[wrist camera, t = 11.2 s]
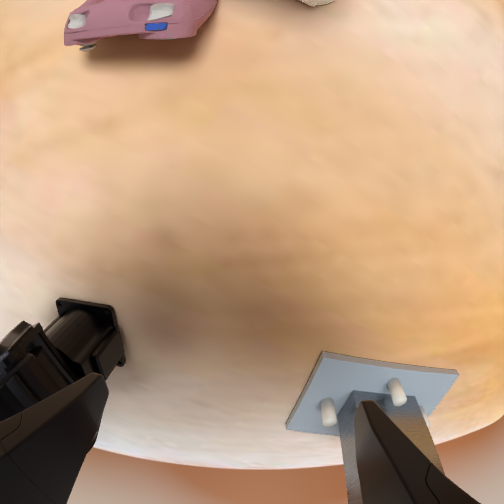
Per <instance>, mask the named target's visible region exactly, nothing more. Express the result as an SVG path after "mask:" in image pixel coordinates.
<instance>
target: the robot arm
mask: <svg viewBox="0 0 504 504" xmlns="http://www.w3.org/2000/svg"><path fill="white" fill-rule="evenodd" d="M56 306H57V309H58V313H59V316H58V317H57V318H56V319H55V320H54V321H53V322H52V323H51V324H50V325H49V326H48V327H47V328H46V329H45V330H44V331H43V328H42V326H41V325H40V323H39V322H38V323H37V324H35V325H33V326H32V325H31V324H28V323H27V322H25V321H22V322H21V323H19V324H18V325H17V326H16V327H15V328H14V329H12V330H11V331H10V332H9V333H8V334H7V335H6V336H5V337H4V338H3V339H2V341H1V342H0V504H67V501H68V498H69V496H70V493H71V491H72V488H73V486H74V483H75V481H76V478H77V476H78V473H79V471H80V468H81V466H82V463H83V461H84V459H85V456H86V454H87V453H88V452H89V451H90V449H91V448H92V447H93V445H94V444H95V442H96V439H97V435H98V431H99V427H100V423H101V419H102V415H103V411H104V407H105V404H106V401H107V398H108V395H109V391H108V387H107V385H106V382H105V380H106V379H107V378H108V376H109V375H110V373H111V372H112V370H113V369H114V367H115V366H120V367H122V366H124V364H125V363H126V361H125V357H124V350H123V346H122V342H121V338H120V334H119V331H118V328H117V323H116V319H115V314H114V310H113V308H112V307H110V306H108V305H102V304H95V303H89V302H82V301H76V300H70V299H65V298H59V299H58V300H56ZM107 311H109V313H108V312H107ZM120 361H121V362H120ZM354 430H355V451H356V463H357V469H358V475H359V482H360V488H361V495H362V502H363V504H481V503H479V502H477V501H476V500H475V499H474V498H472V497H471V496H470V495H468V494H467V493H466V492H464V491H463V490H462V489H461V488H459V487H458V486H457V485H456V484H454V483H453V482H452V481H451V480H450V479H449V478H447V477H446V476H445V475H444V474H443V473H442V472H441V471H440V470H439V469H438V468H437V467H436V466H435V465H434V464H433V463H432V462H431V461H430V460H429V459H428V458H427V457H426V456H425V455H424V454H423V453H422V452H421V450H420V449H419V448H418V447H417V446H416V445H415V444H414V443H413V442H412V441H411V440H410V439H409V438H408V437H407V436H406V435H405V434H404V433H403V432H402V431H401V429H400V428H399V427H398V426H397V425H396V424H395V423H394V422H393V421H392V420H391V419H390V418H389V417H388V416H387V415H386V414H385V413H384V412H383V410H382V409H381V408H380V407H379V406H378V405H377V404H376V403H375V402H374V401H373V400H362V401H361V402H360V403H359V406H358V408H357V411H356V414H355V417H354ZM430 462H431V463H430Z"/></svg>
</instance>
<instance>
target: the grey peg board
mask: <svg viewBox="0 0 504 504" xmlns="http://www.w3.org/2000/svg"><path fill="white" fill-rule="evenodd" d="M458 376H459V374H458V372H457V370H450V369H440V368H431V367H422V366H413V365H406V364H398V363H391V362H384V361H377V360H371V359H364V358H358V357H352V356H346V355H341V354H335V353H330V352H324V351H322V353H321V355H320V358H319V360H318V362H317V364H316V366H315V368H314V370H313V372H312V374H311V376H310V378H309V380H308V382H307V384H306V386H305V388H304V390H303V392H302V394H301V396H300V398H299V400H298V402H297V404H296V406H295V408H294V410H293V412H292V413H291V415H290V417H289V419H288V421H287V423H286V430H292V431H299V432H307V433H315V434H325V435H335V436H340V433H339V426H338V419H337V414H338V413H339V411H340V410H341V408H342V407H343V405H344V403H345V402H346V400H347V399H348V397H349V396H350V394H351V392H352V391H353V390H357V391H365V392H374V393H384V394H390V395H391V398H392V400H393V403H394V405H395V406H401V405H403V404H404V403H405V402H406V401H407V398H406V395H408V396H415V397H416V400H417V402H418V405H419V407H420V409H421V412H422V414H423V417H424V419H425V422H426V424H427V427H429V426H430V423H429V420H428V418H427V417H428V416H429V415H430V414H431V413H432V411H433V410H434V409H435V408H436V406H437V405H438V404H439V402H440V401H441V400H442V398H443V397H444V396H445V394H446V393H447V392H448V390H449V389H450V388H451V386H452V385H453V383H454V382H455V380H456V379H457V378H458Z"/></svg>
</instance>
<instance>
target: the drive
mask: <svg viewBox="0 0 504 504" xmlns="http://www.w3.org/2000/svg"><path fill="white" fill-rule="evenodd" d="M406 398H407V401H406V402H405V403H404V404H403V405H401V406H395V405H394V403H393V400H392V398H391V395H390V394H384V393H374V392H365V391H357V390H353V391H352V392H351V394H350V396H349V397H348V399H347V400H346V402H345V403H344V405H343V407H342V408H341V410H340V411H339V413H338V414H337V419H338V426H339V433H340V439H341V447H342V454H343V462H344V469H345V478H346V486H347V495H348V504H363V502H362V495H361V488H360V482H359V475H358V469H357V463H356V451H355V430H354V417H355V414H356V411H357V408H358V406H359V403H360V402H361V401H362V400H373V401H374V402H375V403H376V404H377V405H378V406H379V407H380V408H381V409H382V410H383V412H384V413H385V414H386V415H387V416H388V417H389V418H390V419H391V420H392V421H393V422H394V423H395V424H396V425H397V426H398V427H399V428H400V429H401V431H402V432H403V433H404V434H405V435H406V436H407V437H408V438H409V439H410V440H411V441H412V442H413V443H414V444H415V445H416V446H417V447H418V448H419V449H420V450H421V452H422V453H423V454H424V455H425V456H426V457H427V458H428V459H429V460H430V461H431V462H432V463H433V464H434V465H435V466H436V467H437V468H438V469H439V470H440V471H441V472H442V473H443V474H444V471H443V468H442V465H441V462H440V459H439V456H438V454H437V451H436V448H435V445H434V443H433V440H432V437H431V435H430V432H429V429H428V427H427V424H426V422H425V419H424V417H423V414H422V412H421V409H420V407H419V405H418V402H417V400H416V397H415V396H408V395H406ZM431 462H430V463H431ZM444 475H445V474H444Z"/></svg>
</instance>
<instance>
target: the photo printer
mask: <svg viewBox="0 0 504 504" xmlns="http://www.w3.org/2000/svg"><path fill="white" fill-rule="evenodd" d="M300 1H302V2H304V3H306V4H308V5H310V6H313V7H315V6H316V5H324V4H328V3H330V2H332V1H334V0H300Z"/></svg>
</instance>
